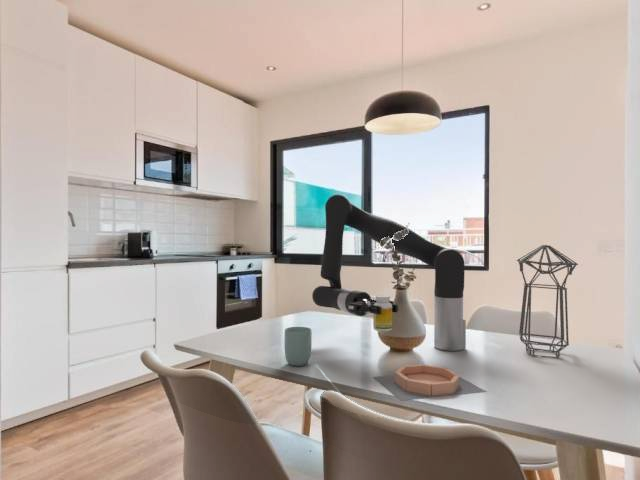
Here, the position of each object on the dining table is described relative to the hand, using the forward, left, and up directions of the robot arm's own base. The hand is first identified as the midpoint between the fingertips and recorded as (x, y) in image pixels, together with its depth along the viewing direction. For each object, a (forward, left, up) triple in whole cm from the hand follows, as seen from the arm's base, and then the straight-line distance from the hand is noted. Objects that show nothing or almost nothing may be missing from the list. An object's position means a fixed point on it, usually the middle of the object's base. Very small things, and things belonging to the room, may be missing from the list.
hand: (388, 309), depth 112 cm
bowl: (-3, +15, -16) cm, 22 cm away
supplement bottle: (+1, -2, -6) cm, 7 cm away
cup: (+24, -10, -17) cm, 31 cm away
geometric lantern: (-55, -2, -17) cm, 58 cm away
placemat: (-3, +15, -16) cm, 23 cm away
